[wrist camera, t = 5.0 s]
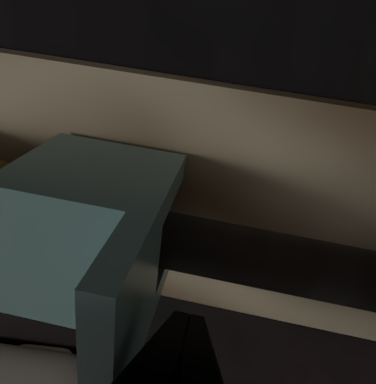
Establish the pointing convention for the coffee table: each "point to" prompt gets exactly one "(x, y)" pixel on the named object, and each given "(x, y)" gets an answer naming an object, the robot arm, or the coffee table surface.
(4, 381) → the cable organizer
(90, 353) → the marker sleeve
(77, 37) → the coffee table surface
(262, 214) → the cord board
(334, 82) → the coffee table surface
